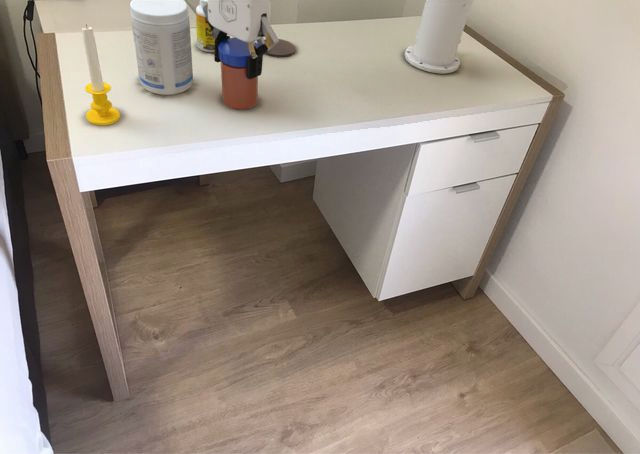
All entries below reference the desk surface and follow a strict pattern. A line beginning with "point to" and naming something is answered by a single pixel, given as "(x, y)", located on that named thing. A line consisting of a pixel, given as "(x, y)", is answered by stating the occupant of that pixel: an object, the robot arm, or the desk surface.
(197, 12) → the supplement bottle
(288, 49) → the coaster
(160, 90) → the supplement tub
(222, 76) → the jar
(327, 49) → the desk surface
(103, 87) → the candle
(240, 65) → the jar lid
